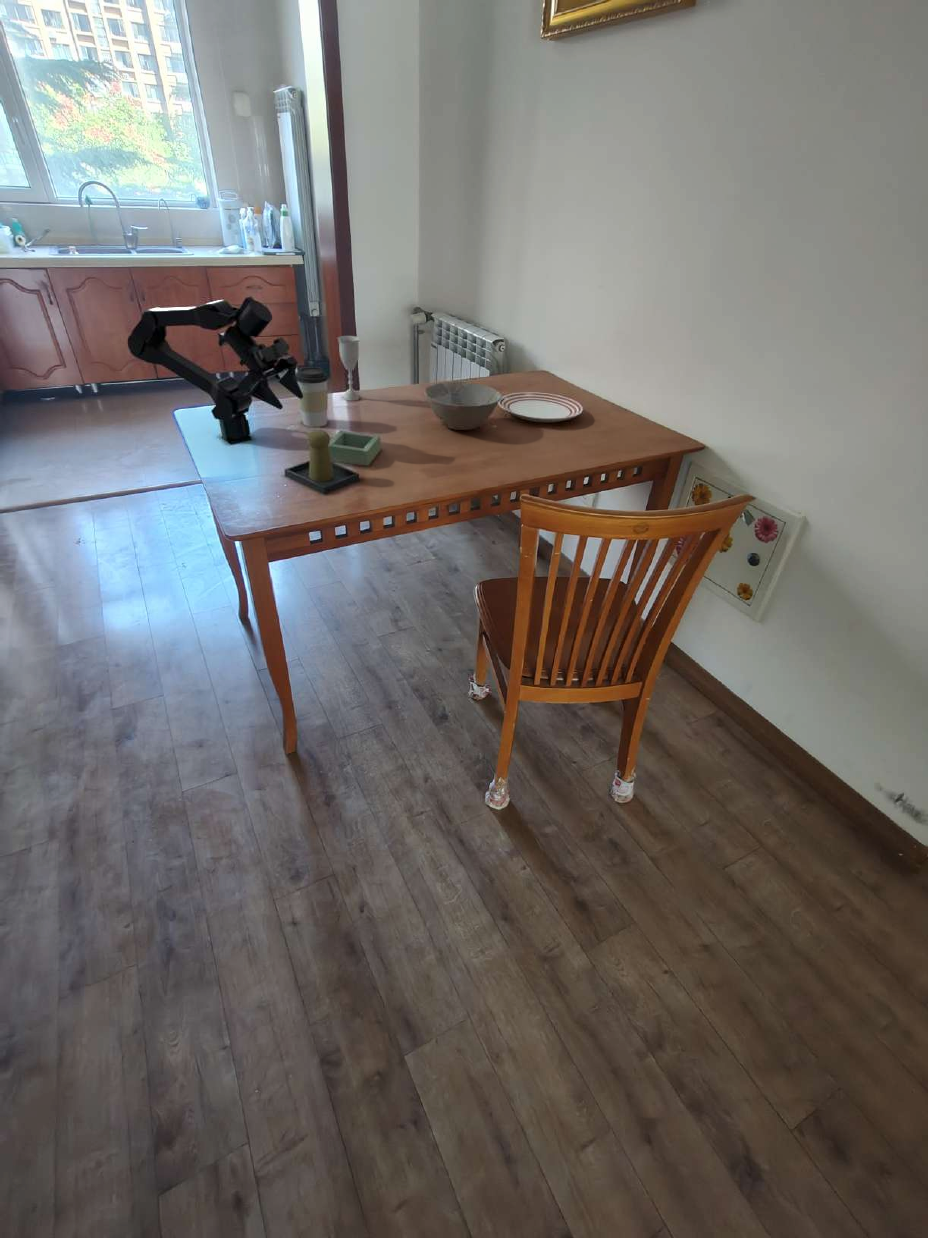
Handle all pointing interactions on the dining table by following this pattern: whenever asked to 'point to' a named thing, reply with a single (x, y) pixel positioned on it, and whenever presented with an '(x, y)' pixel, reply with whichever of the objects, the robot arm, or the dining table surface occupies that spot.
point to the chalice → (349, 361)
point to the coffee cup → (313, 396)
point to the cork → (319, 456)
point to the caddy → (354, 448)
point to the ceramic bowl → (462, 403)
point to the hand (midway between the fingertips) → (292, 402)
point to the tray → (338, 481)
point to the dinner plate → (540, 407)
